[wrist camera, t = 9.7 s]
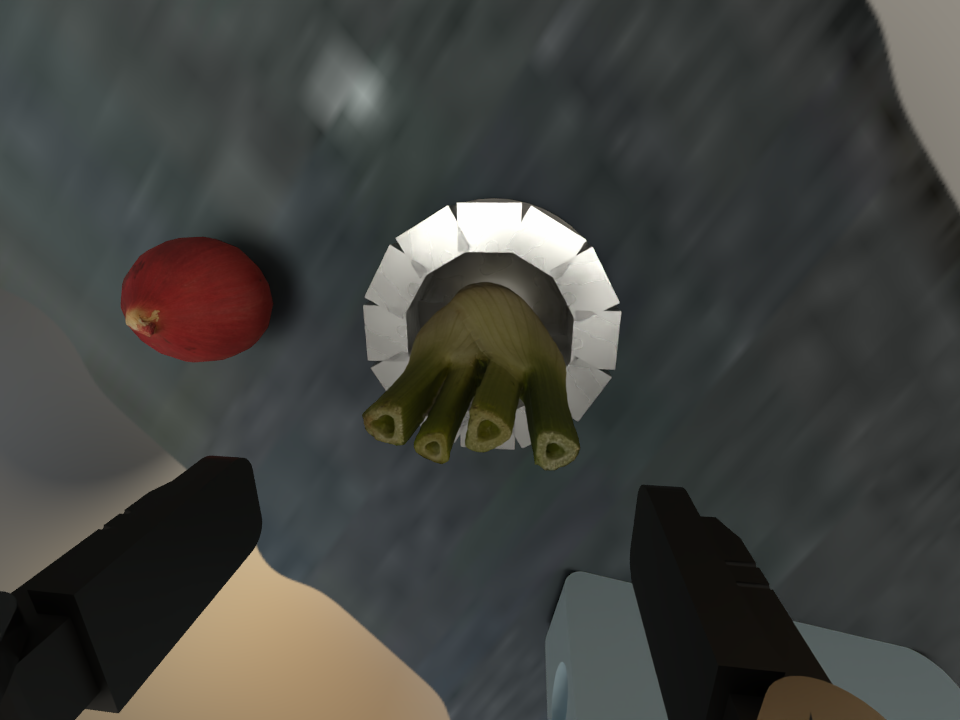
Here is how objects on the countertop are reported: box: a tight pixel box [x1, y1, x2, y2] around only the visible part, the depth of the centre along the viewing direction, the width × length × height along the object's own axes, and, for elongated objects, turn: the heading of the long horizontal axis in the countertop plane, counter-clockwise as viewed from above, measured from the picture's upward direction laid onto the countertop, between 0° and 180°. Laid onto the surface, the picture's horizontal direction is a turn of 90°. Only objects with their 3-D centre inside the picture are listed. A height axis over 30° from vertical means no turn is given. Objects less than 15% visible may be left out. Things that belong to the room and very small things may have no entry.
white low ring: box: [363, 198, 621, 450], centre depth 22 cm, size 12×12×4 cm
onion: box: [121, 237, 273, 362], centre depth 21 cm, size 6×6×8 cm
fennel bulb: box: [362, 282, 580, 470], centre depth 17 cm, size 6×5×12 cm
